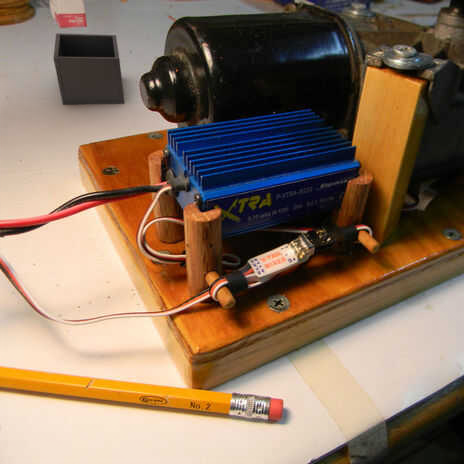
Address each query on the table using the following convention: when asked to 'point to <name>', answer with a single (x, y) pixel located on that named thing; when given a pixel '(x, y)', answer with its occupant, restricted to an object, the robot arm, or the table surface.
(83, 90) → the dark grey open bin
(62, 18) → the ink box
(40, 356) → the table surface
